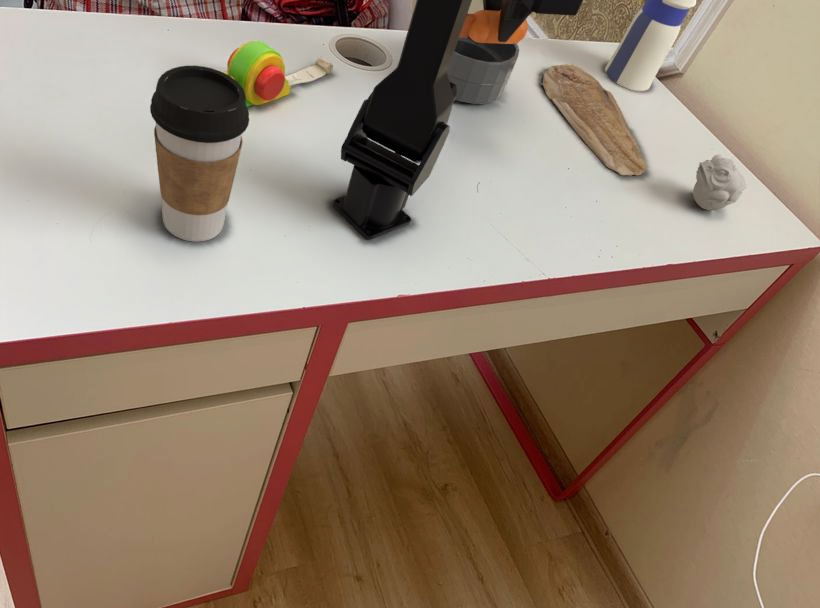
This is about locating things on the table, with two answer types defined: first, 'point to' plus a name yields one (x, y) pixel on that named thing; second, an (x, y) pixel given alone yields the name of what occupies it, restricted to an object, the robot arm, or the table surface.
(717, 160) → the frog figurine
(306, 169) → the table surface
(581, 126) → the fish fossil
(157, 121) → the coffee cup
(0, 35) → the table surface
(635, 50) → the water bottle
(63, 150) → the table surface
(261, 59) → the toy measuring tape
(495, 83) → the grey round pot
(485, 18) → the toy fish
